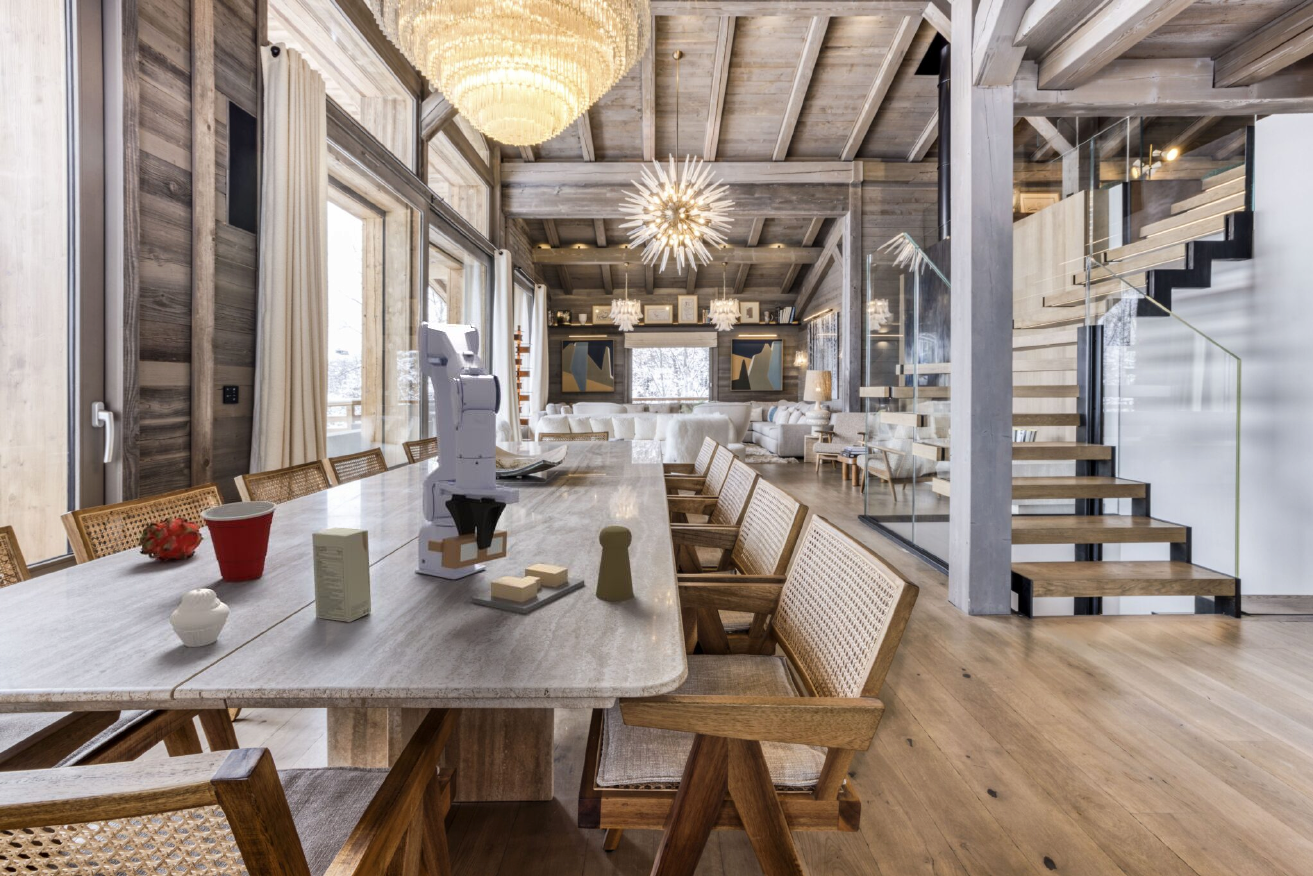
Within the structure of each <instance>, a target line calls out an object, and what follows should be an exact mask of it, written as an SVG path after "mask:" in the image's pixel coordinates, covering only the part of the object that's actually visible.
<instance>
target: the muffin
mask: <svg viewBox="0 0 1313 876" xmlns="http://www.w3.org/2000/svg"><path fill="white" fill-rule="evenodd" d="M229 615H230V608H229V606H228V605H227V604H226V603H224V602H222V601H221V600H220V598H217V593H216V592H215V591H214V590H213V589H209V588H200V587H199V588H196V589H192V590H190V591H188V592H187V593H185V594H184V595H183V596H182V598H181V603H180V604H179V605H178V607H177V608H176V609H175V610H174V611H173V612H172V613H171V615H170V616H169V623H170V624H171V626H172V630H173V631H174V633H175V634H176V636H178V638H179V640H180V641H182V643H183V644H184V646H186V647H188V648H200V647H205V646H209V645H211V644H213V643H215V642H216V641H217V640H218V637H219V636H220V634H221V632H222V630H223V628H224V626H225V624H226V623H227V618H228V617H229Z"/></svg>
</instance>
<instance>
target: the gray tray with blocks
mask: <svg viewBox="0 0 1313 876" xmlns="http://www.w3.org/2000/svg"><path fill="white" fill-rule="evenodd" d="M568 572H569V568H568V567H562V566H556V565H549V564H544V563H539V562H538V563H536V564H533V565H531V566H528V567H526V568H524V575H523V576H521V577H515V576H509V575H504V576H503V577H500V578H497V579H494V580H492V581H490V589H489V590H487V591H484V592H482V593H480V594H477V595H475V596H472V597H471V603H472V604H477V605H482V606H487V607H491V608H496V609H501V610H503V611H504V610H505V611H509V612H510V611H511V612H514V613H519V614H523V615H525V614H527V613H529V612H531V611H534V610H535V609H538V608H540V607H542V606H544V605H546V604H548V603H550V602H552V601H554V600H556V599H558V598H560V597H562V596H564V595H566V594H568V593H570V592H572V591H574V590H576V589H578V588H580V587H583V586H584V585H585V579H581V578H576V577H575V578H574V577H569V576H568V575H569V573H568Z"/></svg>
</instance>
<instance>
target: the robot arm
mask: <svg viewBox="0 0 1313 876" xmlns="http://www.w3.org/2000/svg"><path fill="white" fill-rule="evenodd" d="M479 348H480V335H479V329H478V328H477V327H476V325H474V324H470V325H468V324H467V325H465V324H449V323H435V322H434V323H432V322H431V323H430V322H426V321H422V322H421V323H420V324H419V325H418V331H417V349H418V365H419V367H420V372H421V373H422V374H424V375H426V376H427V377H429V378H430V381H431V385H432V389H433V393H434V394H433V396H434V411H435V426H436V427H435V428H436V429H435V430H436V442H437V444H436V445H437V446H436V447H437V460H438V463H437V464H438V466H437V467H436V468H435V469H433V470H432V471H431V472H430V473H429V474H427V475H426V476H425V478H424V480H423V483H422V489H423V490H422V512H423V518H424V519H425V520H426V522H424V523H423V524H422V526H421V527H420V529H419V533H418V539H417V541H418V542H417V545H418V547H417V548H418V550H417V551H418V567H417V568H415V569H414V572H415V573H419V574H424V575H430V576H434V577H438V578H439V577H441V578H445V579H450V580H458V579H460V578H463V577H466V576H469V575H472V574H475V573H477V572H480V571H483V570H486V568H487V566H486V565H483V564H479V563H478V564H474V565H470V566H466V567H462V568H458V569H451V568H446V567H441V562H442V552H441V553H440V552H435V551H429V550H428V541H429V540H436V541H442V539H444V538H450V537H455V536H460V535H466V534H471V533H476V536H477V546H478V549H480V550H483V549H486V548H489V547H491V543H492V539H493V535H494V531H495V530H496V528H497V524H498V523H499V520H500V518H501V516H502V514H503V512H504V511H505V509H506V508H507V507H506V506H507V505H512V504H513V505H514V504H517V503H519V502H520V490H519V488H511V487H507V486H505V485H504V486H503V485H499V484H497V483H496V482H497V479H496V477H497V476H496V474H497V473H496V472H497V467H496V465H497V460H496V457H497V453H496V452H497V449H496V447H497V443H496V441H497V439H496V438H497V434H496V433H497V429H496V427H497V426H496V425H497V423H496V421H497V420H496V419H497V417H496V416H497V414H498V413H499V411H500V408H501V402H502V389H501V383H500V379H499V376H498V375H497V374H488V371H487V369H486V367H485V365H484V363H483V360H482V359H481V358H480V356H479V355H478V354H479V352H480V351H479Z"/></svg>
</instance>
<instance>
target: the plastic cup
mask: <svg viewBox="0 0 1313 876" xmlns="http://www.w3.org/2000/svg"><path fill="white" fill-rule="evenodd" d="M277 506H278V504H276V503H275V502H273V501H264V500H262V501H261V500H260V501H259V500H257V501H255V500H254V501H252V500H251V501H240V502H239V501H238V502H232V503H226V504H220V505H217V506H213V507H210V508H207V509H204V510H203V511H201V513H200V514H199V515H200V517H201V518H202V519H203V520H204V522H205V525H206V526H207V530H208V531H209V534H210V537H211V538H210V539H211V542H212V546H213V550H214V554H215V558H216V561H217V563H218V568H219V572H220V576H221V578H222V580H223V581H224V582H237V583H238V582H245V581H250V580H251V581H252V580H255V579H258V578H260V577H262V576H263V574H264V573H263V572H264V570H265V564H266V558H267V557H266V556H267V554H268V547H269V540H270V534H271V527H272V524H273V523H272V522H273V518H274V514H275V511H276V510H277Z"/></svg>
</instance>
